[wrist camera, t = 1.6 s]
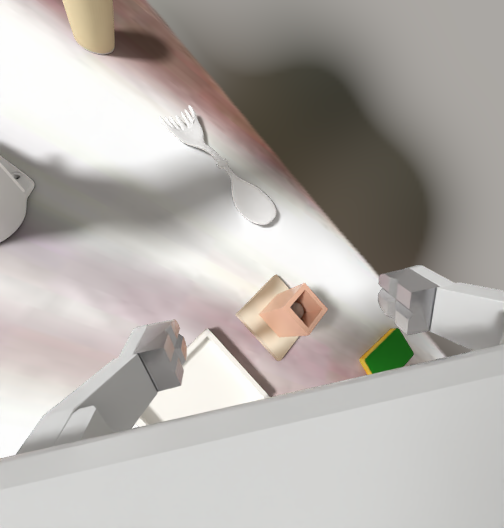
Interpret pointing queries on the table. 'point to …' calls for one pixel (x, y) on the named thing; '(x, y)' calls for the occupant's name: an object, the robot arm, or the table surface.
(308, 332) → the sleeve
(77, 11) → the coffee cup
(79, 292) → the table surface
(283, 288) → the stand
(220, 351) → the tray
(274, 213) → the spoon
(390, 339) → the dish sponge
